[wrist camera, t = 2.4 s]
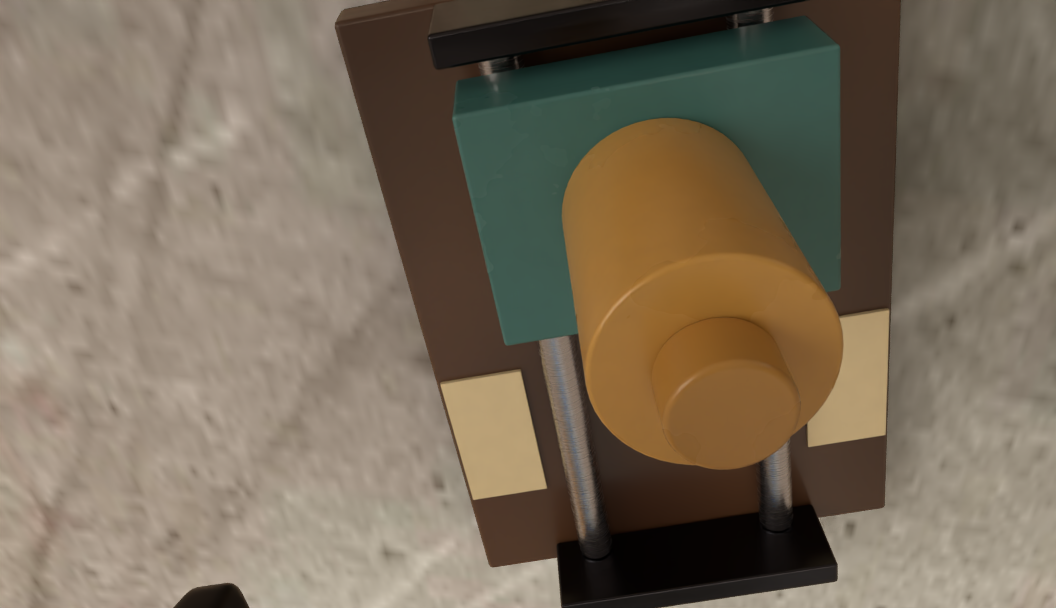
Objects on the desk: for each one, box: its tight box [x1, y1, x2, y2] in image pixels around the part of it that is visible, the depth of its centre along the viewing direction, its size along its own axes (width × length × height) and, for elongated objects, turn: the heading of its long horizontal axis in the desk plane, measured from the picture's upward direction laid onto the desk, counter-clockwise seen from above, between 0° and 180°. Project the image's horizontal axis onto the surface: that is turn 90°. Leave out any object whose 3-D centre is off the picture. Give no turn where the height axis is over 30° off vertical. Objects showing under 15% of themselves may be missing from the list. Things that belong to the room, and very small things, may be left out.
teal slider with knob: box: [452, 16, 844, 470], centre depth 14 cm, size 6×4×7 cm
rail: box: [335, 0, 901, 608], centre depth 19 cm, size 10×14×3 cm
